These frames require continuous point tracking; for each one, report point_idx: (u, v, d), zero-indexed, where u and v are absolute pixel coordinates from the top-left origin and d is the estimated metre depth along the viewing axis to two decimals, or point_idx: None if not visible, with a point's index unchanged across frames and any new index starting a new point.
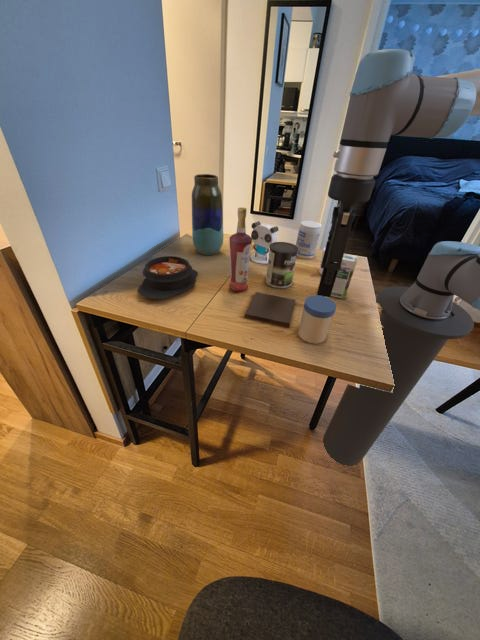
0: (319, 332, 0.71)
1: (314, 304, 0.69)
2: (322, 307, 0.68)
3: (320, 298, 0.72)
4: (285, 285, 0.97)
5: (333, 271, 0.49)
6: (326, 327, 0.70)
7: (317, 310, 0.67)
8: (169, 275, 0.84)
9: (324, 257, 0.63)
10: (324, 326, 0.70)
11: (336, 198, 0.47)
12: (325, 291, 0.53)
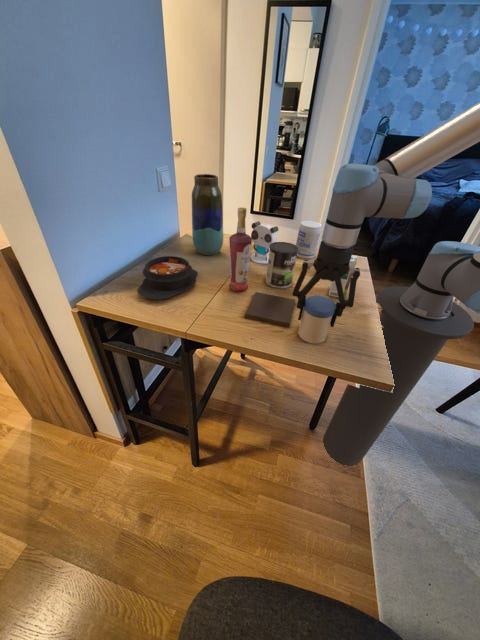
0: (319, 332, 0.71)
1: (314, 304, 0.69)
2: (322, 307, 0.68)
3: (320, 298, 0.72)
4: (285, 285, 0.97)
5: None
6: (326, 327, 0.70)
7: (317, 310, 0.67)
8: (169, 275, 0.84)
9: None
10: (324, 326, 0.70)
11: None
12: None
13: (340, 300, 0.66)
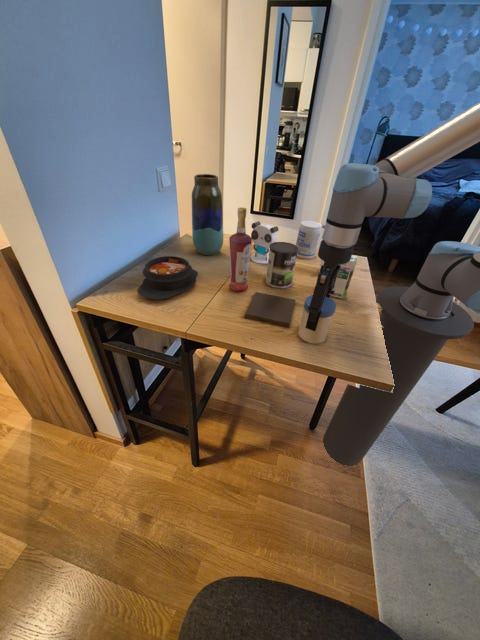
0: (319, 332, 0.71)
1: (323, 306, 0.68)
2: (327, 303, 0.69)
3: None
4: (285, 285, 0.97)
5: (315, 313, 0.65)
6: (326, 327, 0.70)
7: (333, 308, 0.68)
8: (169, 275, 0.84)
9: None
10: (324, 326, 0.70)
11: (321, 258, 0.60)
12: (311, 326, 0.69)
13: (331, 288, 0.71)
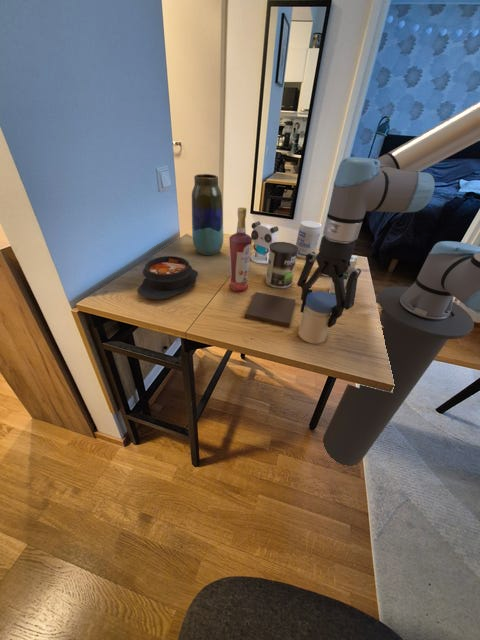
0: (320, 332, 0.71)
1: (329, 299, 0.69)
2: (324, 295, 0.70)
3: (317, 302, 0.67)
4: (285, 285, 0.97)
5: (343, 308, 0.66)
6: (326, 327, 0.70)
7: (331, 295, 0.71)
8: (169, 275, 0.84)
9: (304, 304, 0.73)
10: (324, 326, 0.70)
11: (341, 259, 0.58)
12: (334, 322, 0.69)
13: None
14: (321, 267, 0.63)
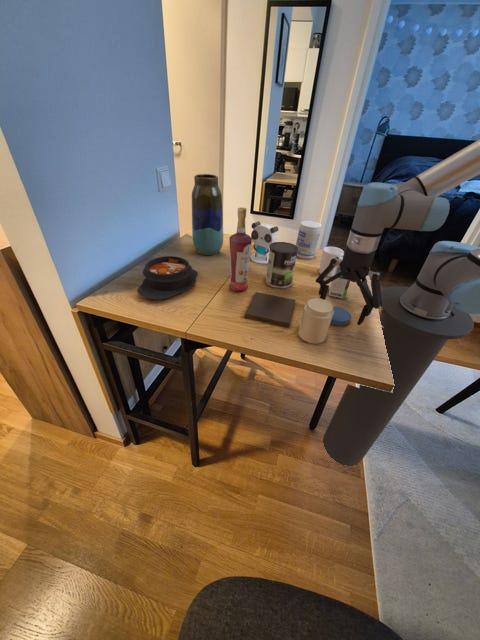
0: (319, 332, 0.71)
1: (343, 314, 0.82)
2: (338, 310, 0.84)
3: (333, 316, 0.81)
4: (285, 285, 0.97)
5: None
6: (326, 327, 0.70)
7: (344, 310, 0.84)
8: (169, 275, 0.84)
9: (322, 298, 0.83)
10: (324, 326, 0.70)
11: (363, 266, 0.68)
12: (362, 320, 0.77)
13: None
14: (344, 273, 0.73)
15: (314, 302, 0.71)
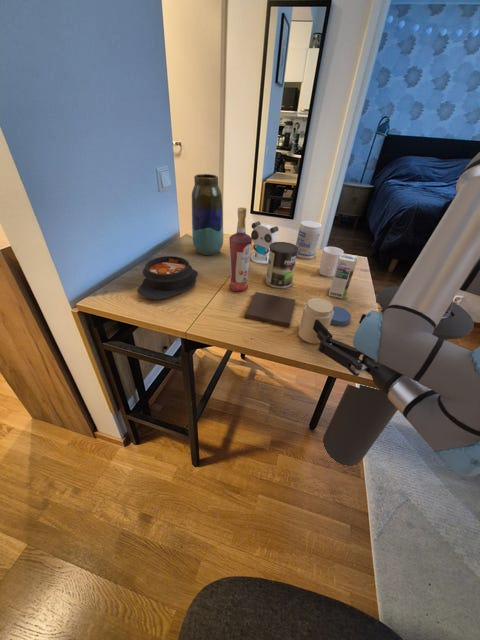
0: None
1: (343, 314, 0.82)
2: (338, 310, 0.84)
3: (333, 316, 0.81)
4: (285, 285, 0.97)
5: None
6: (326, 327, 0.70)
7: (344, 310, 0.84)
8: (169, 275, 0.84)
9: None
10: (324, 326, 0.70)
11: None
12: None
13: (337, 341, 0.57)
14: None
15: (314, 302, 0.71)
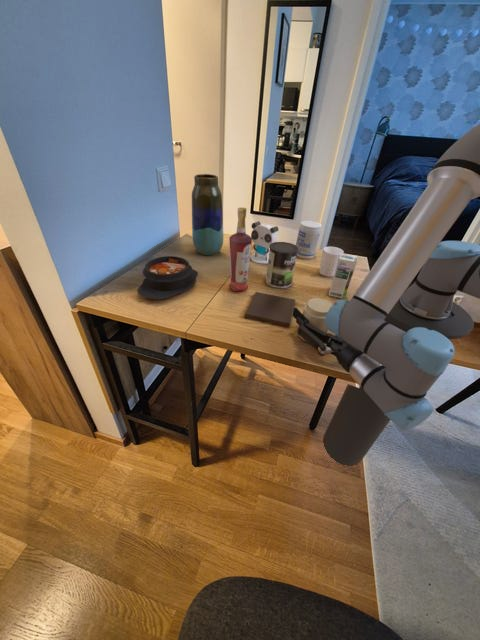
0: None
1: None
2: None
3: None
4: (285, 285, 0.97)
5: None
6: None
7: None
8: (169, 275, 0.84)
9: None
10: (324, 326, 0.70)
11: None
12: None
13: (312, 326, 0.68)
14: None
15: (314, 302, 0.71)
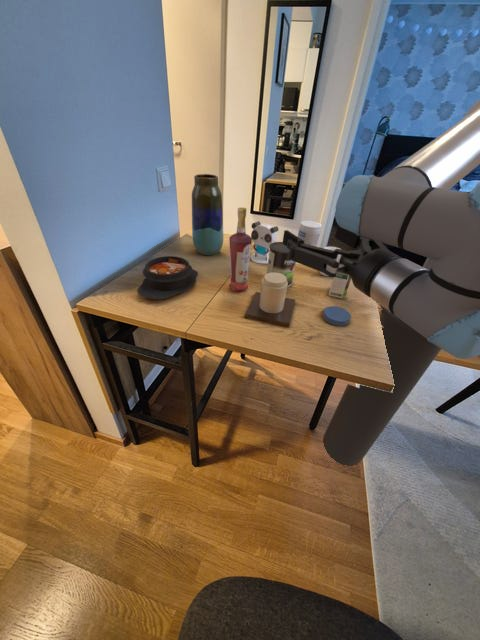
0: (275, 302, 0.79)
1: (343, 314, 0.82)
2: (338, 310, 0.84)
3: (333, 316, 0.81)
4: None
5: None
6: (281, 297, 0.78)
7: (344, 310, 0.84)
8: (169, 275, 0.84)
9: None
10: (279, 296, 0.78)
11: None
12: None
13: (309, 245, 0.48)
14: None
15: (271, 275, 0.79)
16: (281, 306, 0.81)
